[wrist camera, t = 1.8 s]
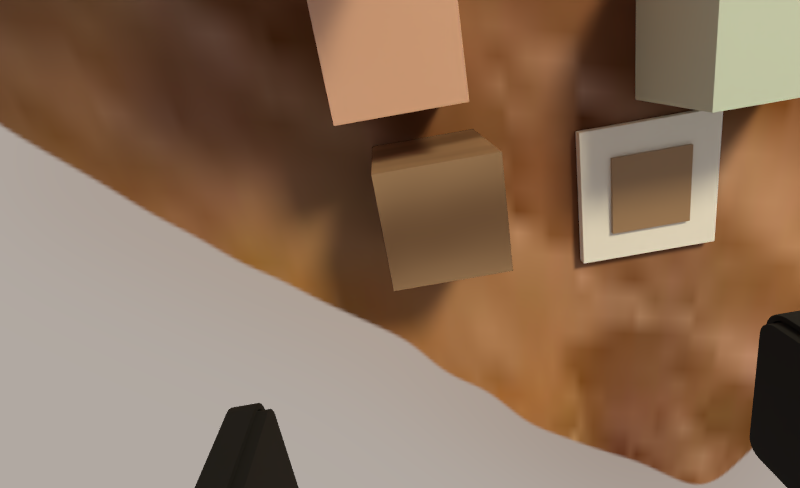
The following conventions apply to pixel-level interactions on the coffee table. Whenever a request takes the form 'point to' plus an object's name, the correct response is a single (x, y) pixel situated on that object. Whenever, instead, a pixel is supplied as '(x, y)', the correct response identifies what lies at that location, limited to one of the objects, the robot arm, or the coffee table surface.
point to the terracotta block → (389, 56)
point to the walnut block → (442, 208)
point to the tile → (648, 184)
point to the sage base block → (717, 52)
